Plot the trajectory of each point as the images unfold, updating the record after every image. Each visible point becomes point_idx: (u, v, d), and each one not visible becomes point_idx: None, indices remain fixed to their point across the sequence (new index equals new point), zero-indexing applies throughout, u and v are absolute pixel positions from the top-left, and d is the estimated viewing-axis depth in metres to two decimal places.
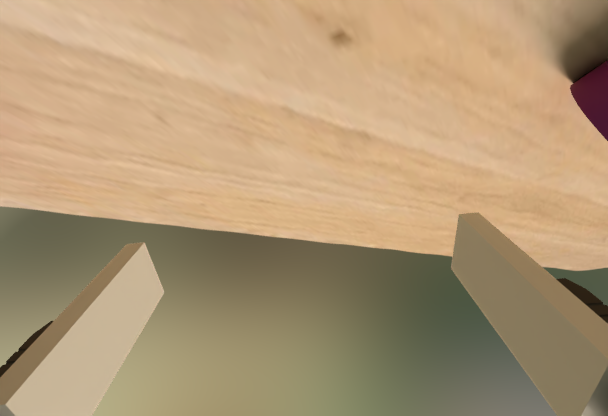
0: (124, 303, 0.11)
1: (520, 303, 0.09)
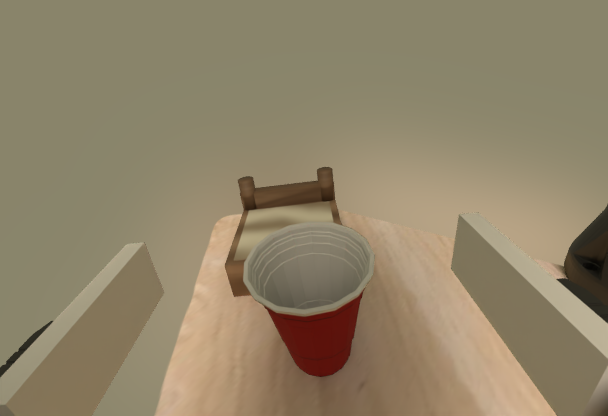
0: (124, 303, 0.11)
1: (520, 303, 0.09)
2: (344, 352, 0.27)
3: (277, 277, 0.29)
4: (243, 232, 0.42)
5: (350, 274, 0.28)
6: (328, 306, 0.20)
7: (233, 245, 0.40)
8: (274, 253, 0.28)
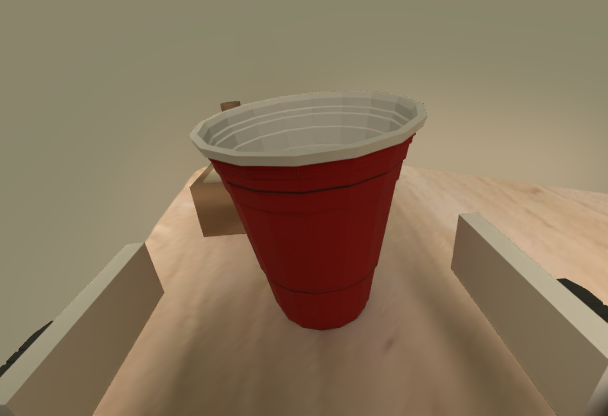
0: (124, 303, 0.11)
1: (520, 303, 0.09)
2: (362, 287, 0.16)
3: None
4: None
5: None
6: (344, 146, 0.10)
7: (206, 170, 0.30)
8: (253, 134, 0.18)
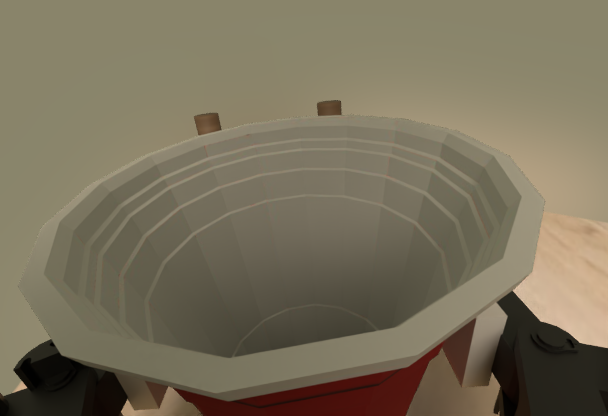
0: None
1: None
2: None
3: (214, 246, 0.12)
4: None
5: (398, 240, 0.11)
6: (373, 342, 0.03)
7: None
8: (207, 184, 0.11)
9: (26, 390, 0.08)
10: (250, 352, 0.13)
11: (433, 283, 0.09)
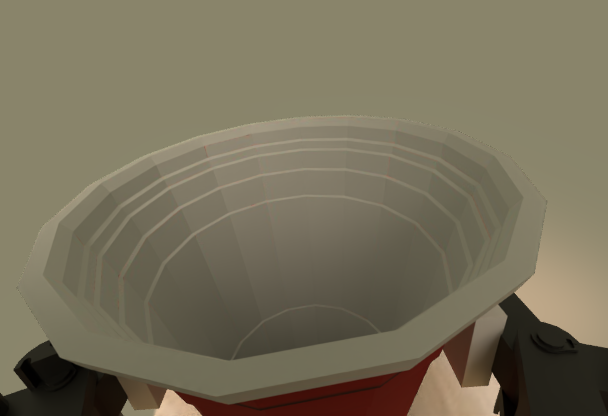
0: None
1: None
2: None
3: (214, 247, 0.12)
4: None
5: (398, 241, 0.11)
6: (375, 345, 0.03)
7: None
8: (207, 185, 0.11)
9: (26, 390, 0.08)
10: (250, 353, 0.13)
11: (434, 284, 0.09)
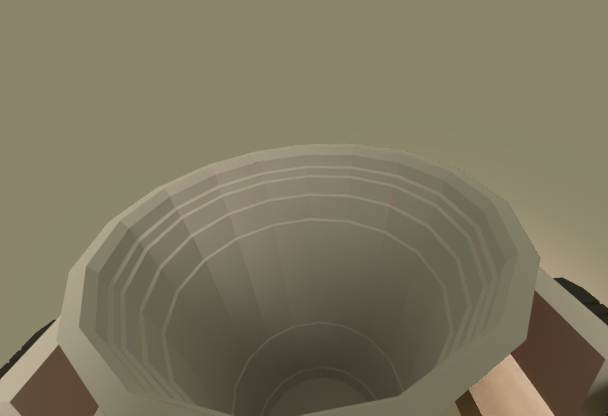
0: None
1: None
2: None
3: (224, 270, 0.12)
4: None
5: (401, 267, 0.11)
6: (384, 413, 0.04)
7: None
8: (217, 212, 0.12)
9: None
10: (257, 370, 0.14)
11: (435, 314, 0.09)
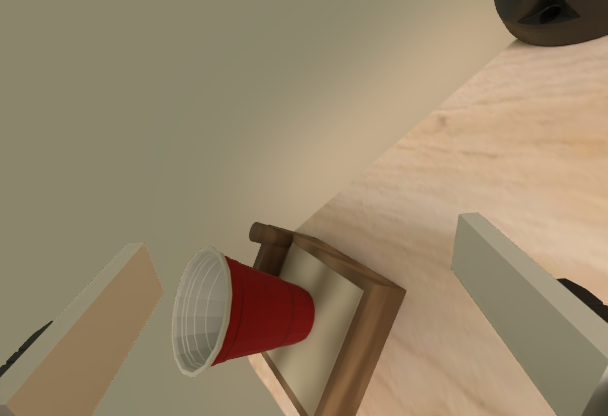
0: (124, 303, 0.11)
1: (520, 303, 0.09)
2: (297, 305, 0.29)
3: (214, 326, 0.31)
4: (280, 370, 0.33)
5: None
6: (222, 326, 0.22)
7: (291, 397, 0.31)
8: (191, 321, 0.30)
9: None
10: None
11: None
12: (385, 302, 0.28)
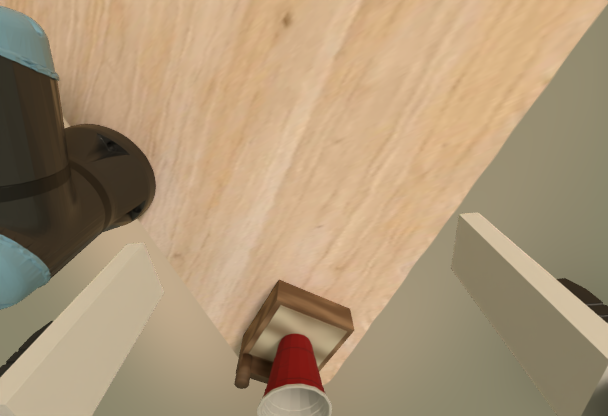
0: (124, 303, 0.11)
1: (520, 303, 0.09)
2: (290, 344, 0.50)
3: (306, 401, 0.48)
4: (328, 353, 0.55)
5: None
6: (303, 387, 0.41)
7: (340, 344, 0.54)
8: None
9: None
10: None
11: (273, 377, 0.45)
12: (285, 292, 0.52)
